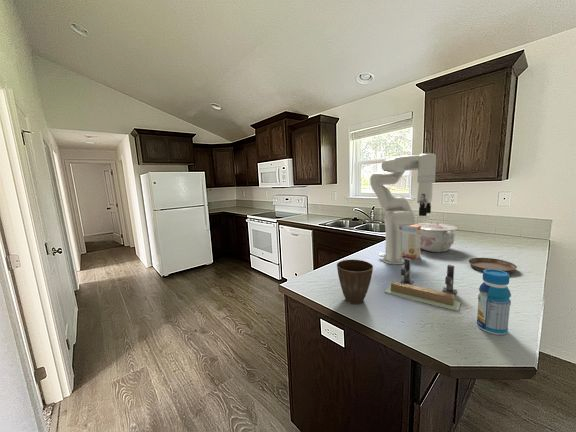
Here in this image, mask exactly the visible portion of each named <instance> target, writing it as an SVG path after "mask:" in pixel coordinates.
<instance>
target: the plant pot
mask: <svg viewBox="0 0 576 432" xmlns="http://www.w3.org/2000/svg"><path fill="white" fill-rule="evenodd" d="M336 268H337V274H338V279H339V284H340V288H341V291H342V293H343V297H344V298H345V301H346V302H347V303H349V304H352V305H360V303H361V304H362V303H363V302H364V300H365V298H366V296H367V293H368V290H369V287H370V284H371V281H372V275H373V270H374V265H373V264H372V263H370V262H368V261H365V260H363V259H362V260H361V259H344V260H341V261H339V262H337V263H336Z"/></svg>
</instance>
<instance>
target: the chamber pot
mask: <svg viewBox="0 0 576 432" xmlns="http://www.w3.org/2000/svg"><path fill="white" fill-rule="evenodd" d="M413 225H417V226H421V239H420V250H423V251H425V252H430V253H443V252H447V251H448V250H450V248H452V246H453V245H454V242H455V239H456V234H455V232H454V231H457V230H458V229H459V228H458V227H457V226H456V225H453V224H450V223H443V222H437V221H436V220H432V221H430V222H419V223H413Z"/></svg>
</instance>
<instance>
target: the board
mask: <svg viewBox="0 0 576 432" xmlns="http://www.w3.org/2000/svg"><path fill="white" fill-rule="evenodd" d="M384 293H386V294H389V295H393V296H397V297H402V298H405V299H408V300H413V301H416V302H421V303H426V304H429V305H433V306H437V307H439V308H440V307H441V308H444V309H447V310H453V311H455V312H459V310H460V306H461V301H457V300H456V301H455V300H454V304H453V306H450V305H446V304H442V303H438V302H434V301H430V300H426V299H422V298H418V297H414V296H409V295H405V294H401V293H397V292H393V291H391V285H389V286H388V288H386V289H385V291H384Z"/></svg>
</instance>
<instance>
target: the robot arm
mask: <svg viewBox="0 0 576 432" xmlns="http://www.w3.org/2000/svg"><path fill="white" fill-rule="evenodd" d="M436 166H437V155H436V154H435V153H421V154H417V155H416V154H413V155H411V154H410V155H401V156H400V155H399V156H396V157H390V158H387V159H384V160H383V161H382V163H381V169H382V170H383V171H377V172H374V173H372V174H371V176H370V179H369V183H370V186H371V189H372V191H373V193H374V194H375V196H376V198H377V200H378V202H379V203H378V204H380V207H381V210H383V212H386V213H385V215H384V216H383V220H384V228H385V252H384V253H382V252H379V253H378V256H379V257H381V258H382V262H383V263H385V264H389V265H398V266H399V265H403V264H404V259H405V258H403V256H402V232H401V230H400V229H399V227H400V226H410V225H414V224H415V220H416V218H415V214H414V212H413V210H412V208H411V206H410V204H409V201H408V200H407V198H405V197H404V196H393V195H392V193H391V191H390V190H389V188H387V186H388V185H396V184H397V183H398V182H399V181H400V179H402V177H403V175H404V174H405V172H406V171H417V182H416V183H417V184H418V189H417V200H416V203H417V204H418V205H419V207H418V216H419V217H427V214H431V212H432V208H431V207H432V202H433V183H436ZM385 185H387V186H385Z"/></svg>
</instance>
